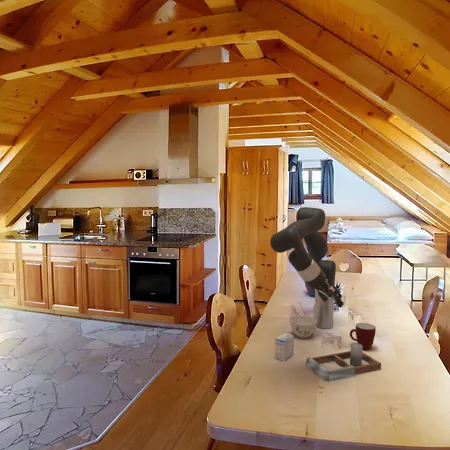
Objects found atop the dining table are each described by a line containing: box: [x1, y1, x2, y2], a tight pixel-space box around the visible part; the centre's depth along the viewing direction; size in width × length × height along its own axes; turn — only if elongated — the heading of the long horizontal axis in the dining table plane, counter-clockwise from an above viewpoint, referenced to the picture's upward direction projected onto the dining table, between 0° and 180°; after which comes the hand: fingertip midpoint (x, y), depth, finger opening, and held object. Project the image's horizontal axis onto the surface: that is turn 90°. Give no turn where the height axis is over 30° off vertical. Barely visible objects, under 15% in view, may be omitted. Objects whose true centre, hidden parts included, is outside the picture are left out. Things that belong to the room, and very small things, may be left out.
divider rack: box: [305, 350, 382, 382], centre depth 149 cm, size 14×25×4 cm, turn 111°
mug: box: [349, 322, 376, 351], centre depth 167 cm, size 10×8×10 cm
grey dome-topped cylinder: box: [349, 342, 363, 367], centre depth 151 cm, size 4×4×8 cm
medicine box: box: [274, 332, 295, 362], centre depth 158 cm, size 8×4×9 cm, turn 141°
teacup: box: [289, 314, 317, 339], centre depth 181 cm, size 15×12×8 cm
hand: (333, 302), depth 143 cm, fingers open, 8 cm apart
